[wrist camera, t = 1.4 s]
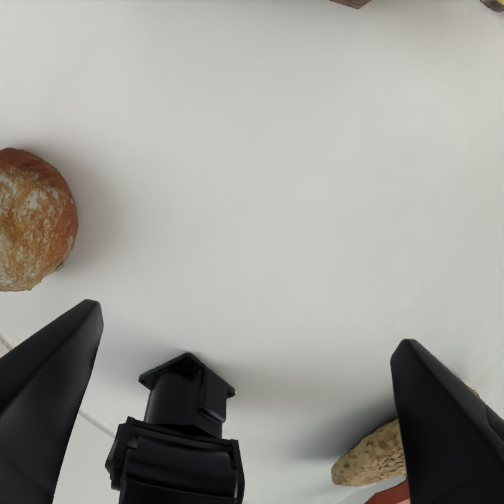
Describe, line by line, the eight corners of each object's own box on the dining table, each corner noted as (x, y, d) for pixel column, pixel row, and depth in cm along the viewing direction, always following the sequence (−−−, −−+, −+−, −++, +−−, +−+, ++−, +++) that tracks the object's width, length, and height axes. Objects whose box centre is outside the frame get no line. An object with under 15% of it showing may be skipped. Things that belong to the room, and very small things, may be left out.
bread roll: (48, 256, 24) (39, 334, 19) (-43, 208, 17) (-76, 282, 12) (105, 178, 21) (100, 256, 16) (-2, 108, 14) (-55, 170, 9)
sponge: (460, 360, 29) (310, 452, 29) (496, 406, 23) (338, 510, 22) (443, 398, 37) (328, 468, 36) (469, 435, 31) (348, 510, 30)
